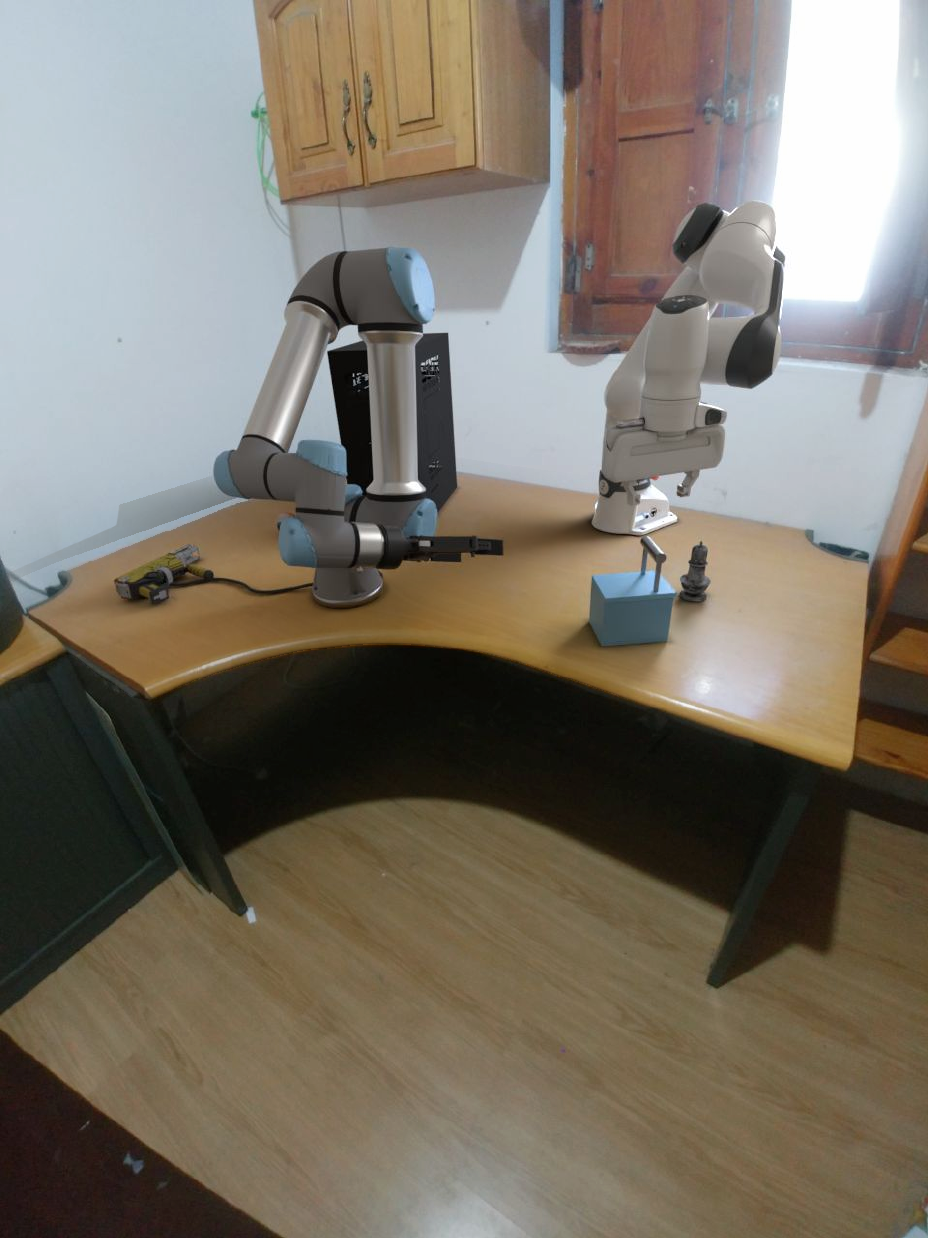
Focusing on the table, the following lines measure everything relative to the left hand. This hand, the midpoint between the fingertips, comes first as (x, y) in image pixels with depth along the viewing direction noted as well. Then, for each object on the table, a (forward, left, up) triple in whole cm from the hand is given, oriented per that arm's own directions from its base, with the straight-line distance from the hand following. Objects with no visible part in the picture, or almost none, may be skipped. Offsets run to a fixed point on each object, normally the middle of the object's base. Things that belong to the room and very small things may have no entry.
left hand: (480, 551), depth 112 cm
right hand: (+30, +5, +11) cm, 32 cm away
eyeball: (-67, +29, -15) cm, 74 cm away
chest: (+28, +3, -15) cm, 31 cm away
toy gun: (-75, -3, -15) cm, 76 cm away
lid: (+28, +4, -6) cm, 28 cm away
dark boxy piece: (-43, +58, -15) cm, 74 cm away
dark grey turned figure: (+38, +21, -15) cm, 46 cm away
